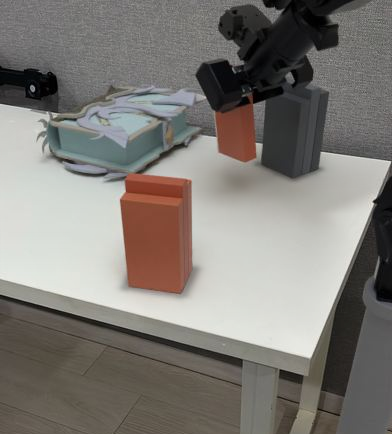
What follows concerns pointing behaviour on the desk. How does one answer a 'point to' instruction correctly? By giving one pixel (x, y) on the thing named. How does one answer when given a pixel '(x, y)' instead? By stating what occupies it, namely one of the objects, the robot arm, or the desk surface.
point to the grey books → (294, 130)
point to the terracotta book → (236, 132)
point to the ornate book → (121, 129)
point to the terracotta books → (157, 231)
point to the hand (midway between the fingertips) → (228, 108)
